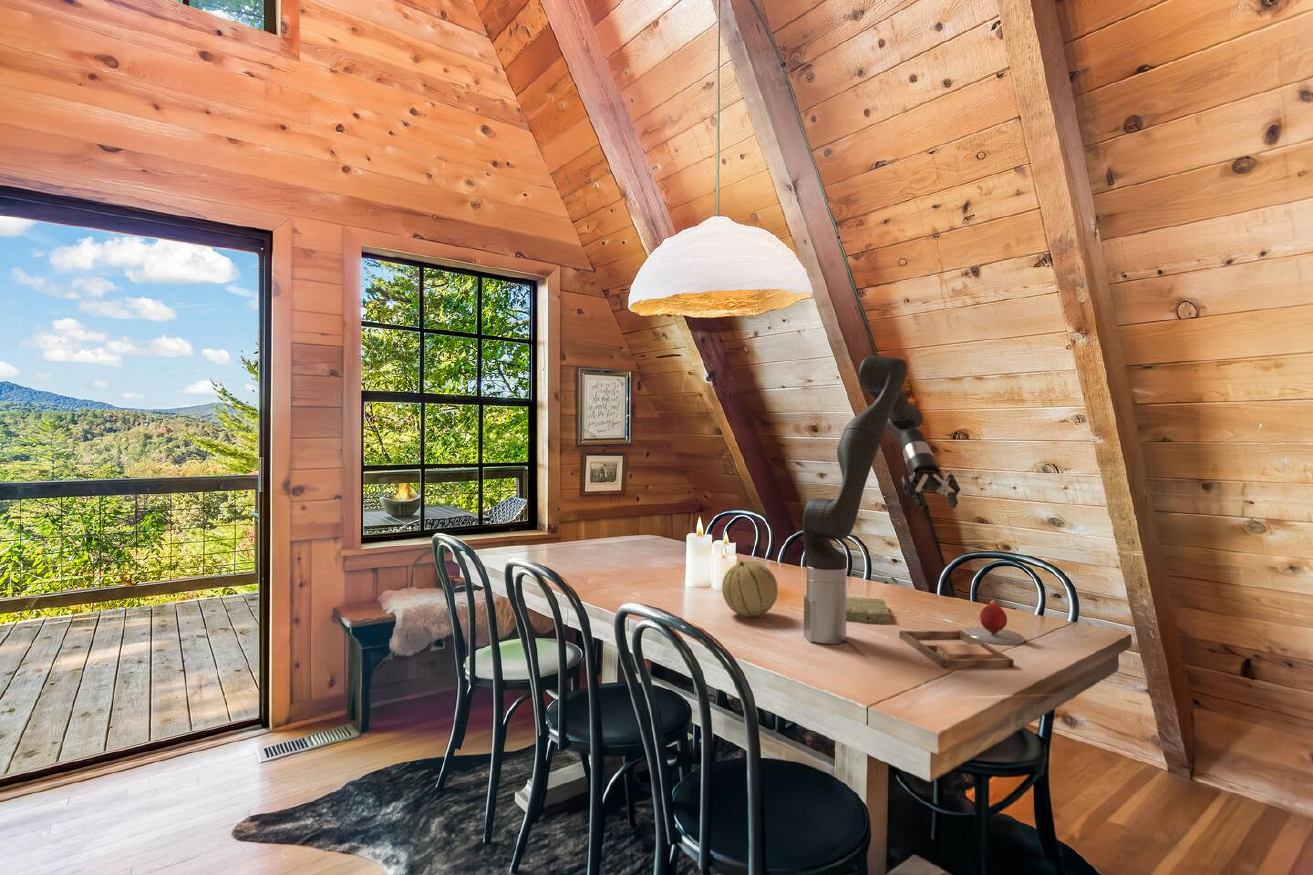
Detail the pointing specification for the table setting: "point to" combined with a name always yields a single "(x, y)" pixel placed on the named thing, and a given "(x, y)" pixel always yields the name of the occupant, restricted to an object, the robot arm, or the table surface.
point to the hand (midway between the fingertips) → (938, 506)
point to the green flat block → (867, 610)
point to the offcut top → (964, 652)
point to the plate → (995, 636)
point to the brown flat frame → (930, 650)
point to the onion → (993, 618)
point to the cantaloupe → (749, 588)
